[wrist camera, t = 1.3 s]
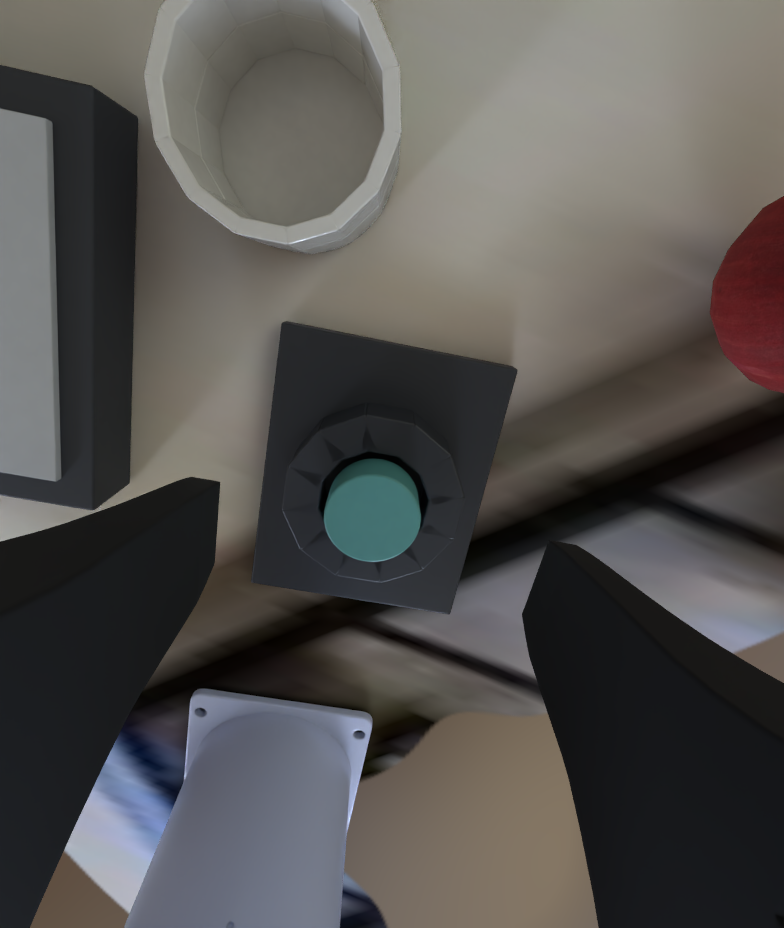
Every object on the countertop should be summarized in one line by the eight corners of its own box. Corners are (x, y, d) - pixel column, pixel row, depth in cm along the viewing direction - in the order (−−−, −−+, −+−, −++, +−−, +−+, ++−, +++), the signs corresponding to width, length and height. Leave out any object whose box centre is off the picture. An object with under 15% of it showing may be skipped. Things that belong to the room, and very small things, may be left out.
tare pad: (448, 604, 21) (455, 645, 18) (255, 573, 20) (237, 611, 18) (513, 366, 18) (533, 378, 15) (285, 320, 17) (269, 326, 15)
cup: (380, 269, 16) (378, 264, 12) (204, 232, 16) (139, 213, 12) (416, 68, 15) (428, -22, 10) (219, 20, 14) (146, -94, 10)
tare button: (408, 546, 17) (410, 569, 16) (322, 531, 17) (317, 554, 16) (426, 466, 16) (430, 484, 15) (336, 450, 16) (331, 466, 15)
